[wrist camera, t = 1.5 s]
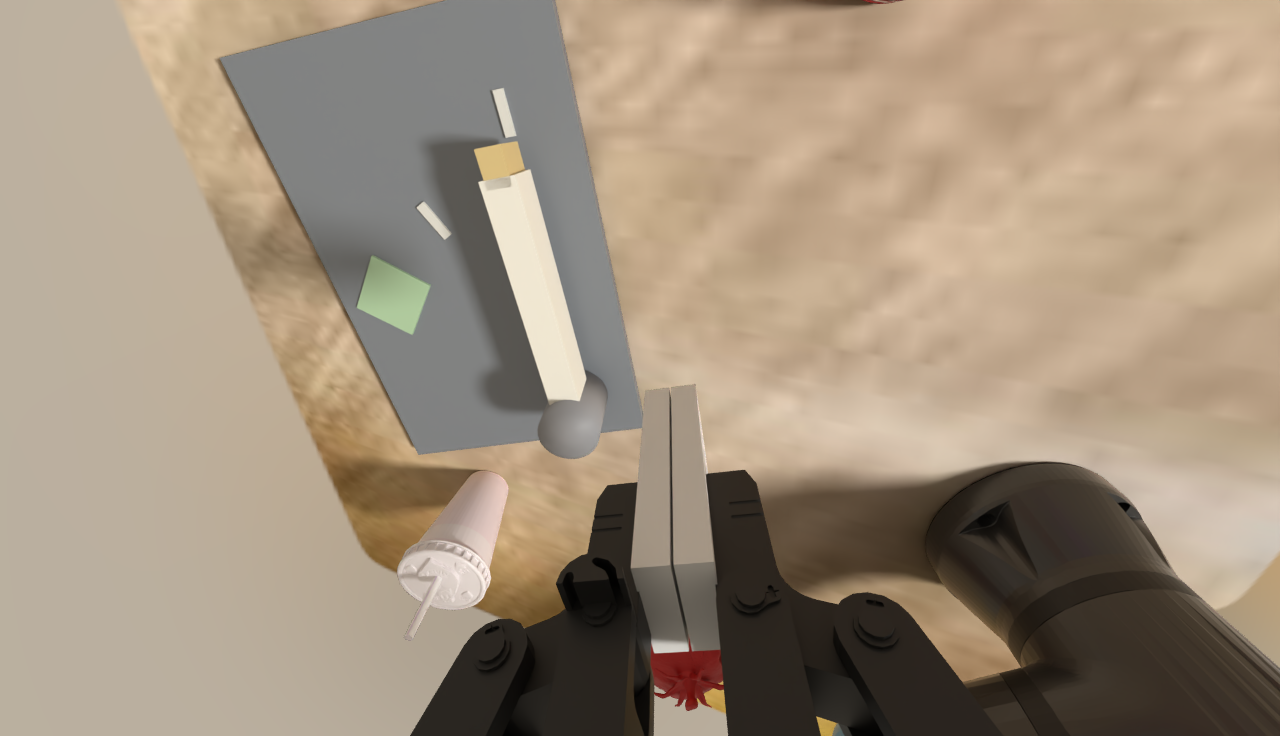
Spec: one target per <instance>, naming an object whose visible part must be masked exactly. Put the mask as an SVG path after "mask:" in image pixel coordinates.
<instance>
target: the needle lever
mask: <svg viewBox="0 0 1280 736" xmlns="http://www.w3.org/2000/svg"><path fill="white" fill-rule="evenodd" d="M474 152H475V155H476V158H477V161H478V165H479V168H480V171H481V174H482V177H483V181H480V182H478V183H479V186H480V189H481V192H482V195H483V199H484V202H485V205H486V208H487V211H488V214H489V217H490V220H491V224H492V227H493V230H494V233H495V236H496V239H497V242H498V245H499V249H500V252H501V255H502V258H503V261H504V264H505V267H506V270H507V274H508V277H509V280H510V283H511V286H512V289H513V292H514V295H515V299H516V302H517V305H518V308H519V311H520V314H521V317H522V320H523V324H524V327H525V330H526V333H527V336H528V339H529V342H530V345H531V349H532V352H533V355H534V358H535V361H536V364H537V367H538V370H539V374H540V377H541V380H542V383H543V386H544V389H545V392H546V395H547V399H548V403H547V405H546V408H545V410H544V412H543V415H542V417H541V420H540V422H539V424H538V430H537V432H538V437H539V440H540V442H541V444H542V445H543V446H544V447H545V448H546V449H547V450H548V451H549V452H551V453H552V454H554V455H556V456H559V457H562V458H567V459H577V458H581V457H584V456H587V455H588V454H590V453H591V452H592V451H593V450H594V449H595V448H596V446H597V444H598V441H599V437H600V432H601V428H602V423H603V418H604V414H605V409H606V404H607V399H608V392H607V388H606V386H605V384H604V383H603V381H602V380H601V379H600V378H599V377H598V376H596V375H595V374H593V373H590V372H587V371H584V367H583V364H582V360H581V356H580V352H579V349H578V345H577V341H576V338H575V334H574V330H573V326H572V323H571V319H570V315H569V311H568V308H567V304H566V300H565V297H564V293H563V289H562V285H561V282H560V278H559V274H558V271H557V267H556V263H555V259H554V256H553V252H552V248H551V244H550V241H549V237H548V233H547V230H546V226H545V222H544V218H543V215H542V211H541V207H540V204H539V200H538V196H537V192H536V189H535V185H534V181H533V177H532V174H531V170H530V169H528V170H525V167H524V164H523V160H522V157H521V153H520V149H519V146H518V142H517V141H515V142H509V143H503V144H497V145H492V146H488V147H483V148H478V149H474Z"/></svg>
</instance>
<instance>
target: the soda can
mask: <svg viewBox="0 0 1280 736" xmlns="http://www.w3.org/2000/svg"><path fill="white" fill-rule="evenodd" d="M863 1H866V2H869V3H877V4H885V3H893V2H898V1H902V0H863Z"/></svg>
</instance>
